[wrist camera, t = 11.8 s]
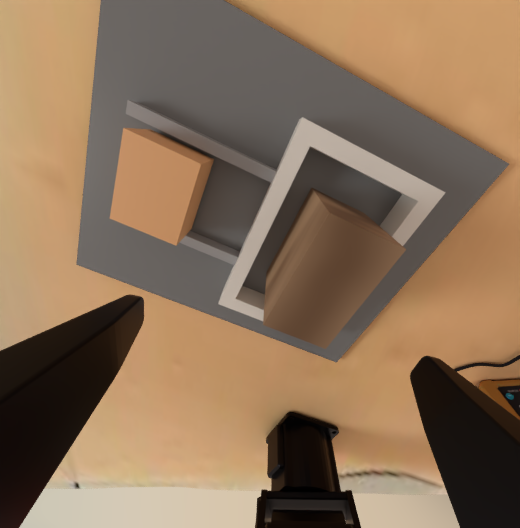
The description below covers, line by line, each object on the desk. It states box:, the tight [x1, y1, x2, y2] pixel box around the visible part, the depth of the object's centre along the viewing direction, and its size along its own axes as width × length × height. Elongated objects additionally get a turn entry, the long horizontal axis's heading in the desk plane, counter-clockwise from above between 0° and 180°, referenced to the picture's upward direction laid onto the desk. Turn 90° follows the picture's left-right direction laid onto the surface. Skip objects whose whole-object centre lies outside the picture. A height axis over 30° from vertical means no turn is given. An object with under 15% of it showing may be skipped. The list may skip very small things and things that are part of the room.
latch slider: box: [110, 128, 214, 245], centre depth 15 cm, size 4×5×3 cm
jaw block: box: [263, 188, 406, 349], centre depth 15 cm, size 4×7×6 cm, turn 156°
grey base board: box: [77, 0, 509, 362], centre depth 16 cm, size 24×19×2 cm
